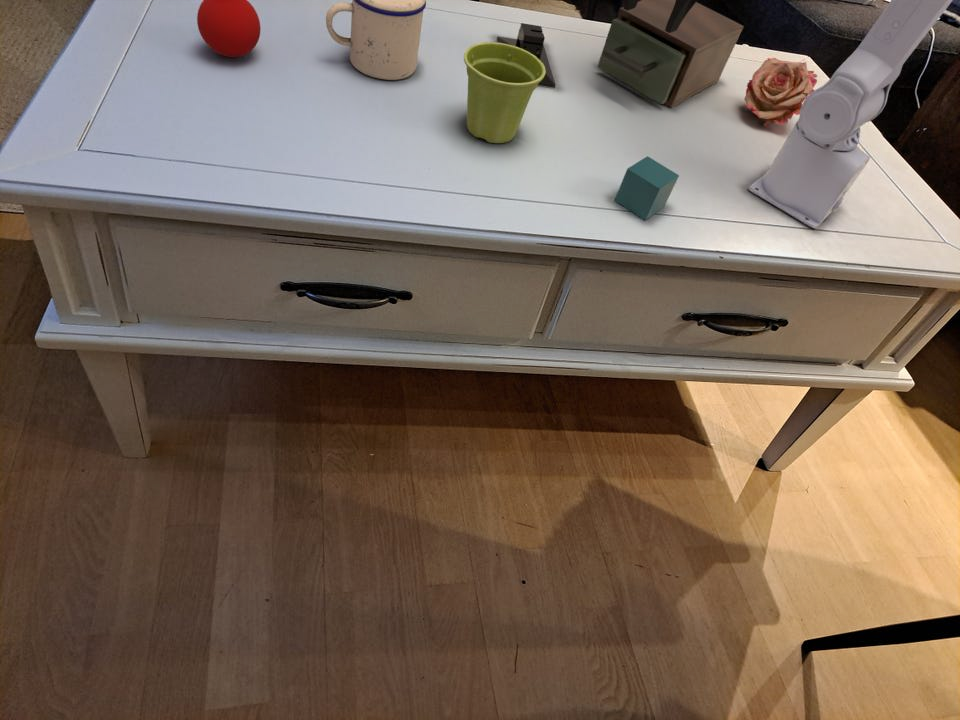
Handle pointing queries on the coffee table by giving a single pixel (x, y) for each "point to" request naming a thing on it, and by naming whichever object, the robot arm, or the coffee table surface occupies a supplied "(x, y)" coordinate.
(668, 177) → the block
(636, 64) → the drawer
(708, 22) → the cabinet
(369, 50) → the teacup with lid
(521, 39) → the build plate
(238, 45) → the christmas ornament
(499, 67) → the plant pot
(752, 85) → the flower
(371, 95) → the coffee table surface
